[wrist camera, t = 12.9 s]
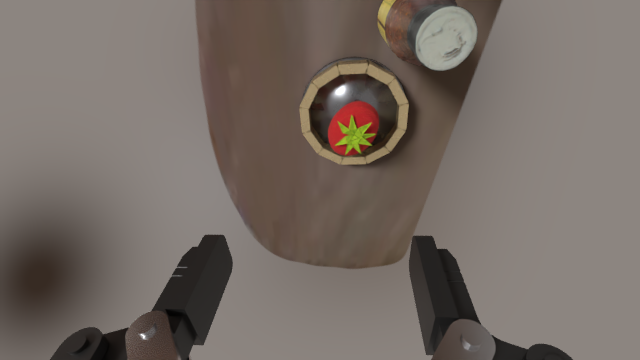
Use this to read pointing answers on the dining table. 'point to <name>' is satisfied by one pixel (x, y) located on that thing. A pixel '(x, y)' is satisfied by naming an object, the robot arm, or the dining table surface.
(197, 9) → the dining table surface
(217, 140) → the dining table surface
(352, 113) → the strawberry
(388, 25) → the sauce bottle
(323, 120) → the tan rimmed round bowl
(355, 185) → the dining table surface
